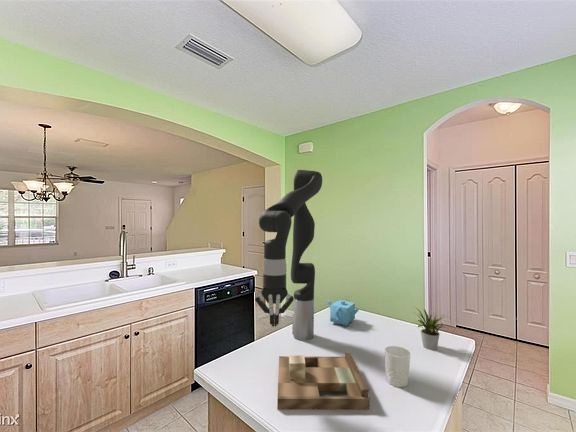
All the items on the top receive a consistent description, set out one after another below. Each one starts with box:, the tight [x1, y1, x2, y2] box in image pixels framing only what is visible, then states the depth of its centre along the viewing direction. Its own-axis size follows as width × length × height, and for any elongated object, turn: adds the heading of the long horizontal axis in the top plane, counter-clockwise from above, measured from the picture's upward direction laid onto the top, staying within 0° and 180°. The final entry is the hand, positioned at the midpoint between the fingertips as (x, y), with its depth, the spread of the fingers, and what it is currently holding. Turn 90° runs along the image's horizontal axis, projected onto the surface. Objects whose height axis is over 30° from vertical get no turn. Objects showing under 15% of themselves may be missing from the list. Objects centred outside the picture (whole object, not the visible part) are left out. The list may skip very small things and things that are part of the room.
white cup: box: [384, 345, 411, 388], centre depth 93 cm, size 8×8×10 cm
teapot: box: [325, 299, 360, 328], centre depth 145 cm, size 16×18×11 cm
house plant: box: [413, 306, 447, 351], centre depth 119 cm, size 14×14×16 cm
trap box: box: [276, 352, 370, 410], centre depth 91 cm, size 26×24×5 cm
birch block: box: [288, 355, 305, 379], centre depth 91 cm, size 5×5×5 cm
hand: (274, 325), depth 91 cm, fingers closed
